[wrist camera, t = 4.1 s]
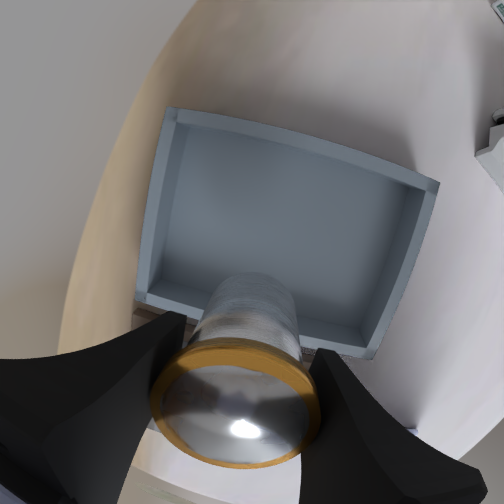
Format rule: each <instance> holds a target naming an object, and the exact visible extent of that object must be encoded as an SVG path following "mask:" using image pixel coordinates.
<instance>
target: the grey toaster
mask: <svg viewBox="0 0 504 504" xmlns="http://www.w3.org/2000/svg"><path fill="white" fill-rule="evenodd" d="M492 117H493V119H494V120H495V121H496V123H497V124H498V125H497V126H494V127H490V137H489V147H487V148H484V149H482V150H479V151H476V154H475V158H476V159H477V160H478V161H479V163H480V164H481V165H482V166H483V167H484V169H485V170H486V171H487V172H488V174H489V175H490V176H491V178H492V179H493V180H494V181H495V183H496V184H497V185H498V187H499V188H500V190H501V191H502V192H503V194H504V108H502V109H498V110H496V111H495V112H494V114H493V116H492Z"/></svg>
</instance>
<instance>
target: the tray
mask: <svg viewBox="0 0 504 504" xmlns="http://www.w3.org/2000/svg"><path fill="white" fill-rule="evenodd" d="M439 185H440V182H438V181H436V180H434V179H431V178H429V177H427V176H424V175H422V174H420V173H417V172H415V171H412V170H410V169H407V168H405V167H402V166H400V165H397V164H395V163H392V162H389V161H387V160H384V159H381V158H378V157H376V156H373V155H370V154H367V153H364V152H361V151H359V150H356V149H353V148H349V147H346V146H343V145H340V144H337V143H334V142H330V141H327V140H324V139H320V138H317V137H314V136H310V135H306V134H303V133H299V132H295V131H292V130H288V129H284V128H280V127H276V126H272V125H267V124H263V123H259V122H254V121H249V120H245V119H240V118H235V117H230V116H225V115H219V114H214V113H208V112H202V111H196V110H189V109H182V108H175V107H166V111H165V115H164V119H163V123H162V127H161V132H160V136H159V140H158V145H157V150H156V154H155V159H154V164H153V169H152V174H151V180H150V185H149V191H148V197H147V203H146V209H145V215H144V222H143V229H142V236H141V244H140V252H139V261H138V271H137V281H136V292H135V300H137V301H140V302H142V303H145V304H149V305H152V306H155V307H158V308H161V309H164V310H167V311H170V310H171V311H174V312H177V313H181V314H184V315H187V317H190V318H193V319H197V320H200V318H201V316H202V314H203V312H204V310H205V308H206V306H207V304H208V302H209V300H210V298H211V296H212V295H213V293H214V291H215V290H216V288H217V287H218V286H219V285H220V284H221V283H222V282H223V281H224V280H226V279H227V278H229V277H231V276H233V275H236V274H239V273H244V272H258V273H263V274H266V275H269V276H271V277H273V278H275V279H277V280H278V281H280V282H281V283H282V284H283V285H284V286H285V287H286V288H287V289H288V291H289V292H290V294H291V296H292V298H293V300H294V304H295V309H296V316H297V323H298V330H299V338H300V345H301V346H303V347H307V348H312V349H318V348H324V349H329V350H334V351H335V352H336V353H337V354H342V355H347V356H352V357H358V358H364V359H370V360H372V359H373V357H374V355H375V353H376V351H377V349H378V347H379V345H380V343H381V341H382V339H383V337H384V335H385V333H386V331H387V329H388V326H389V324H390V322H391V320H392V318H393V316H394V313H395V311H396V309H397V307H398V304H399V302H400V300H401V297H402V295H403V292H404V290H405V288H406V285H407V283H408V280H409V278H410V275H411V272H412V270H413V267H414V264H415V262H416V259H417V256H418V254H419V251H420V248H421V245H422V242H423V239H424V236H425V233H426V230H427V227H428V224H429V220H430V217H431V214H432V210H433V207H434V204H435V200H436V196H437V193H438V189H439Z"/></svg>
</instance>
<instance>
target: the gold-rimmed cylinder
mask: <svg viewBox="0 0 504 504" xmlns="http://www.w3.org/2000/svg"><path fill="white" fill-rule="evenodd" d="M150 410H151V414H152V417H153V419H154V422H155V423H156V425H157V427H158V429H159V430H160V431H161V433H162V434H163V435H164V436H165V437H166V438H167V439H168V440H169V441H170V442H171V443H172V444H173V445H174V446H176V447H177V448H178V449H180V450H181V451H183V452H185V453H186V454H188V455H190V456H192V457H194V458H196V459H198V460H201V461H203V462H206V463H209V464H213V465H216V466H221V467H226V468H234V469H257V468H264V467H269V466H273V465H277V464H280V463H283V462H285V461H287V460H289V459H292V458H293V457H295V456H297V455H298V454H300V453H301V452H302V451H304V450H305V449H306V448H307V447H308V446H309V445H310V444H311V443H312V441H313V440H314V439H315V437H316V435H317V433H318V431H319V427H320V423H321V412H320V405H319V399H318V393H317V388H316V385H315V382H314V380H313V379H312V377H311V375H310V373H309V372H308V371H307V370H306V368H305V367H304V366H303V360H302V353H301V345H300V338H299V330H298V323H297V316H296V309H295V304H294V300H293V298H292V296H291V294H290V292H289V291H288V289H287V288H286V287H285V286H284V285H283V284H282V283H281V282H280V281H278V280H277V279H275V278H273V277H271V276H269V275H266V274H263V273H258V272H244V273H239V274H236V275H233V276H231V277H229V278H227V279H226V280H224V281H223V282H222V283H221V284H220V285H219V286H218V287H217V288H216V290H215V291H214V293H213V295H212V296H211V298H210V300H209V302H208V304H207V306H206V308H205V310H204V312H203V314H202V316H201V318H200V320H199V322H198V324H197V326H196V328H195V330H194V332H193V334H192V336H191V338H190V340H189V342H188V344H187V346H186V347H184V348H182V349H181V350H179V351H178V352H177V353H175V354H174V355H173V356H172V357H171V358H170V359H169V360H168V361H167V363H166V364H165V366H164V367H163V369H162V371H161V373H160V374H159V376H158V378H157V380H156V382H155V383H154V385H153V388H152V390H151V394H150Z"/></svg>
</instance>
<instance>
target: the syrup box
mask: <svg viewBox="0 0 504 504" xmlns="http://www.w3.org/2000/svg"><path fill="white" fill-rule="evenodd" d="M491 6H492V8H493V9H494V10H495V11H496V12H497V13H498V15H499V16H500V18H501V19H502V20H503V22H504V0H497V1H495V2H494V3H492V5H491Z"/></svg>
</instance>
